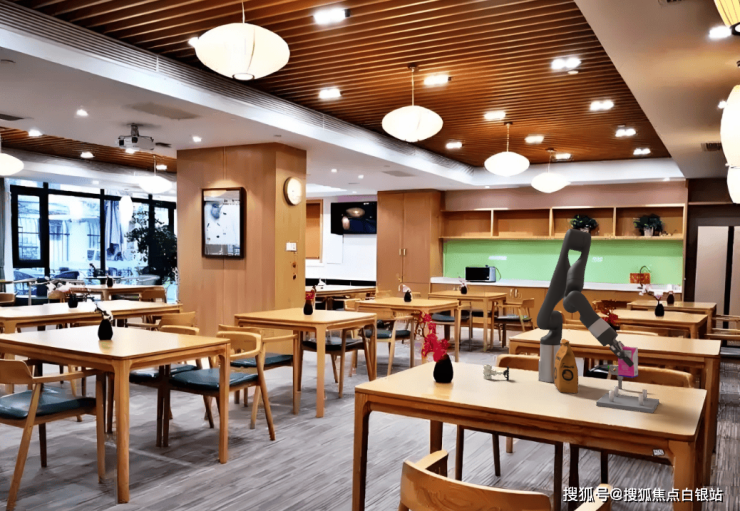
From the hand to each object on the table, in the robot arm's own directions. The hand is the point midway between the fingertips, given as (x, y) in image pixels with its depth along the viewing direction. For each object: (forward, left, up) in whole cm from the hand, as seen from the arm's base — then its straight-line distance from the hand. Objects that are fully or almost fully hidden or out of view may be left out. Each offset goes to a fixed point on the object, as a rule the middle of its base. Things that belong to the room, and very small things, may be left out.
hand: (633, 364), depth 234 cm
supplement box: (-2, 0, -5) cm, 6 cm away
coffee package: (-29, +12, -16) cm, 35 cm away
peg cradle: (-2, 0, -16) cm, 16 cm away
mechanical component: (-10, +30, -16) cm, 36 cm away
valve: (-63, +18, -16) cm, 68 cm away
